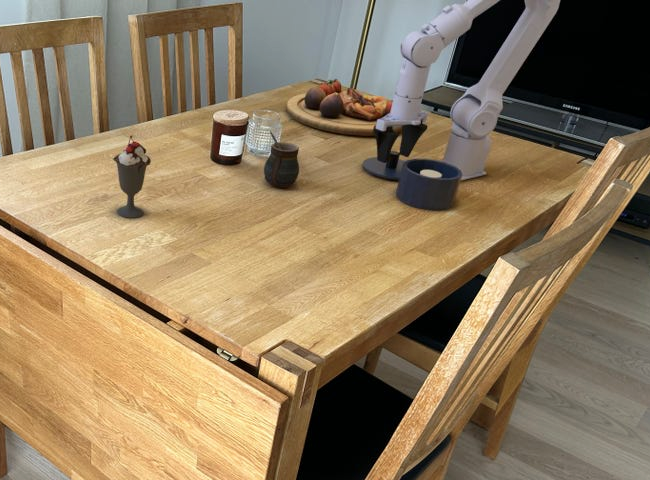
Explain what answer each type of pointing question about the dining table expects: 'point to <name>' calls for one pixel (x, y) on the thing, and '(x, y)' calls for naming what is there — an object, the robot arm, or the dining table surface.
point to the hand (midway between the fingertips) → (393, 158)
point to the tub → (431, 173)
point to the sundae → (131, 176)
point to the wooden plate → (339, 109)
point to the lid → (385, 166)
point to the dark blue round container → (428, 184)
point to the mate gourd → (282, 164)
